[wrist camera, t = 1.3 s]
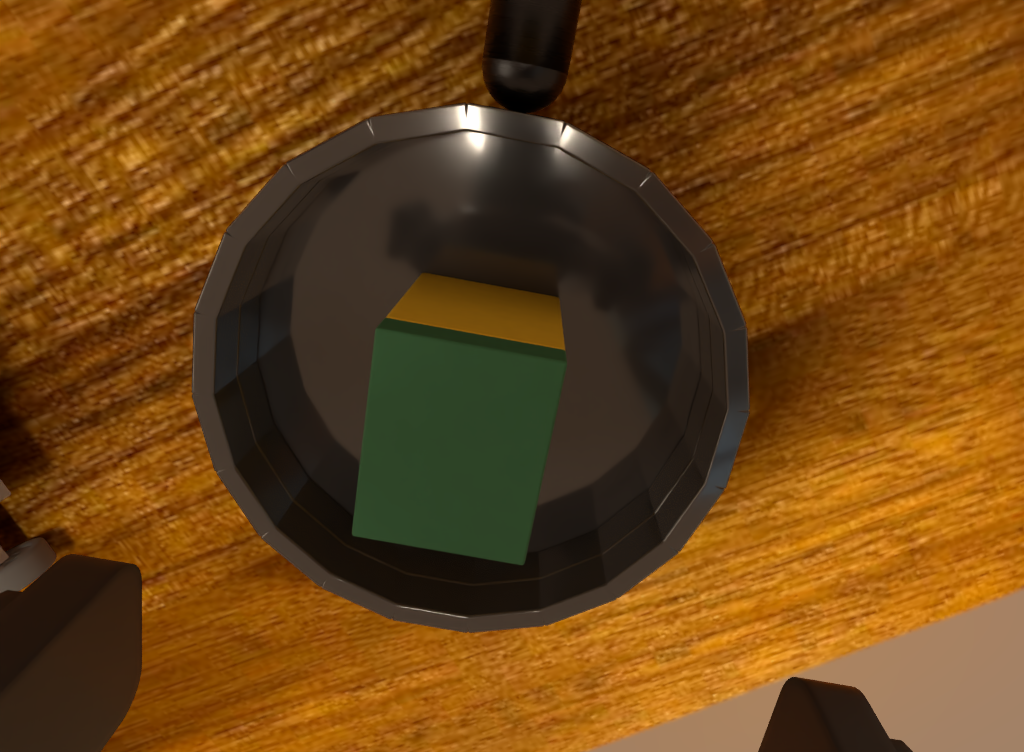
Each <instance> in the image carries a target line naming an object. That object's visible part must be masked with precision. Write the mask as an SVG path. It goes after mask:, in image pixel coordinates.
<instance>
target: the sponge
mask: <svg viewBox="0 0 1024 752" xmlns="http://www.w3.org/2000/svg"><path fill="white" fill-rule="evenodd" d="M566 368H567V358H566V351H565V344H564V335H563V326H562V318H561V309H560V300H559V298H558V297H555V296H549V295H544V294H538V293H533V292H527V291H522V290H516V289H511V288H505V287H500V286H494V285H489V284H483V283H478V282H473V281H467V280H462V279H456V278H451V277H445V276H440V275H434V274H429V273H422V274H421V275H420V276H419V278H418V279H417V280H416V281H415V282H414V284H413V285H412V286H411V287H410V289H409V290H408V291H407V292H406V293H405V295H404V296H403V297H402V298H401V299H400V301H399V302H398V303H397V304H396V306H395V307H394V308H393V309H392V310H391V312H390V313H389V314H388V315H387V317H386V318H384V319H383V320H382V322H381V323H380V324H379V325H378V327H377V328H376V329H375V337H374V346H373V354H372V363H371V371H370V380H369V389H368V397H367V406H366V415H365V423H364V432H363V440H362V449H361V458H360V466H359V475H358V484H357V492H356V501H355V509H354V518H353V527H352V535H353V536H356V537H362V538H368V539H374V540H379V541H385V542H391V543H397V544H403V545H408V546H414V547H420V548H426V549H431V550H437V551H443V552H449V553H454V554H460V555H466V556H472V557H477V558H483V559H489V560H495V561H500V562H506V563H512V564H518V565H523V564H524V563H525V559H526V554H527V550H528V545H529V540H530V536H531V531H532V526H533V522H534V517H535V512H536V508H537V503H538V498H539V494H540V489H541V484H542V480H543V475H544V470H545V466H546V461H547V457H548V452H549V447H550V443H551V438H552V433H553V429H554V424H555V419H556V415H557V410H558V405H559V401H560V396H561V391H562V387H563V382H564V377H565V373H566Z"/></svg>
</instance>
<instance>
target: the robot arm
mask: <svg viewBox="0 0 1024 752" xmlns="http://www.w3.org/2000/svg"><path fill="white" fill-rule="evenodd" d="M141 669H142V578H141V573H140V570H139V568H138V567H137V566H136V565H134V564H129V563H124V562H118V561H112V560H106V559H100V558H94V557H88V556H82V555H76V554H70V555H66V556H64V557H62V558H61V559H60V560H58V561H57V562H56V563H55V564H54V565H52V566H51V567H50V568H49V569H48V570H47V571H46V572H44V573H43V574H42V575H41V576H40V577H39V578H38V579H37V580H35V581H34V582H33V583H32V584H31V585H30V586H29V587H27V588H26V589H25V590H24V591H23V592H18V591H12V590H6V591H4V592H2V593H0V752H101V750H102V749H103V747H104V746H105V745H106V743H107V742H108V740H109V739H110V738H111V736H112V735H113V733H114V732H115V731H116V729H117V728H118V726H119V725H120V723H121V722H122V720H123V719H124V717H125V715H126V714H127V712H128V710H129V708H130V706H131V704H132V701H133V699H134V696H135V693H136V691H137V687H138V684H139V680H140V675H141ZM758 752H913V751H912V750H911V749H910V748H909V747H908V746H907V745H906V744H905V743H904V742H903V741H901V740H895V739H889V737H888V735H887V733H886V732H885V730H884V728H883V727H882V725H881V723H880V722H879V720H878V718H877V716H876V714H875V713H874V711H873V709H872V708H871V706H870V704H869V702H868V701H867V699H866V698H865V696H864V695H863V693H862V692H861V691H860V690H858V689H857V688H855V687H852V686H846V685H840V684H834V683H828V682H822V681H816V680H810V679H804V678H798V677H792V678H790V679H788V680H787V681H786V682H785V684H784V685H783V687H782V690H781V692H780V695H779V697H778V700H777V703H776V706H775V708H774V711H773V713H772V716H771V719H770V721H769V724H768V727H767V730H766V732H765V735H764V738H763V741H762V743H761V746H760V748H759V751H758Z"/></svg>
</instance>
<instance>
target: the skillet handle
mask: <svg viewBox="0 0 1024 752" xmlns="http://www.w3.org/2000/svg"><path fill="white" fill-rule="evenodd" d="M581 1H582V0H491V5H490V12H489V19H488V25H487V32H486V39H485V46H484V52H483V61H482V71H483V78H484V81H485V85H486V87H487V89H488V91H489V93H490V94H491V96H492V97H493V98H494V99H495V100H496V101H497V102H498V103H499V104H500V105H501V106H503V107H505V108H507V109H508V110H511V111H516V112H521V113H531V112H536V111H539V110H542V109H543V108H545V107H547V106H549V105H550V104H551V103H552V102H553V101H554V100H555V99H556V98H557V97H558V96H559V94H560V93H561V91H562V89H563V87H564V85H565V83H566V79H567V76H568V71H569V65H570V60H571V55H572V49H573V44H574V39H575V33H576V28H577V23H578V17H579V12H580V7H581Z"/></svg>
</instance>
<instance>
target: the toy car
mask: <svg viewBox="0 0 1024 752" xmlns="http://www.w3.org/2000/svg"><path fill="white" fill-rule="evenodd" d="M9 495H11V492H10V491H9V490H8V489H7V487H6V486H5V485H4V483H3V482H2V481H1V479H0V502H1V501H2V500H4V499H5V498H7V497H8V496H9ZM55 559H56V553H55V552H54V551H53V549H52V548H51V547H50V545H49V544H48V543H47V541H46V540H45V539H44V538H41V537H38V538H34V539H31V540H28V541H26V542H24V543H21V544H19V545H17V546H15V547H13V548H11V549H9V550H8V551H6V552H5V551H4V550H3V549H2V548H1V546H0V593H2V592H4V591H6V590H12V591H18V592H19V591H20V590H21V589H23V588H24V587H26V586H27V585H29V584H30V583H31V582H33V581H34V580H35V579H37V578H38V577H39V576H40V575H41V574H43V573H44V572H45V571H46V570H47V569H48V568H49V567H50V566H51V565H52V564H53V563H54V561H55Z"/></svg>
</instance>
